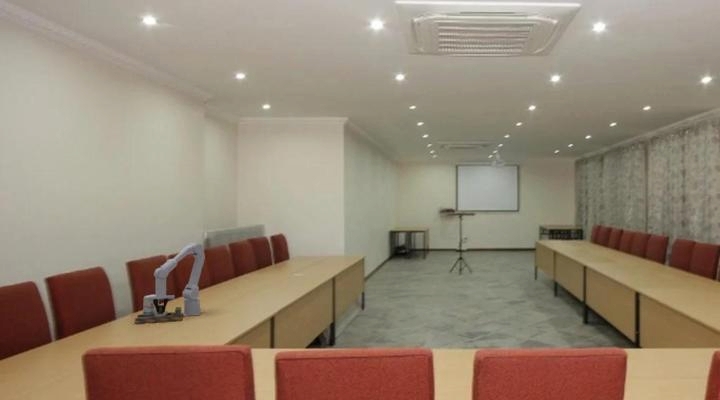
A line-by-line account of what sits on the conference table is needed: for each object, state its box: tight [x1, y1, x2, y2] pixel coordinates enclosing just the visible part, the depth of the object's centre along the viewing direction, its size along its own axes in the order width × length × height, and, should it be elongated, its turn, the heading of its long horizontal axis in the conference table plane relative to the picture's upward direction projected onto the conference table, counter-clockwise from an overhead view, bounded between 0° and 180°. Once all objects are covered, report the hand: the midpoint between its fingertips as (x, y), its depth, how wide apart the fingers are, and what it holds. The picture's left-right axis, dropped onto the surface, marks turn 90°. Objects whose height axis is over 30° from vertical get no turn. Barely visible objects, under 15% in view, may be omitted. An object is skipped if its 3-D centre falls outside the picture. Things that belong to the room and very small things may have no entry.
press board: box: [134, 306, 184, 325], centre depth 265 cm, size 25×13×6 cm, turn 108°
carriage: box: [155, 304, 169, 317], centre depth 266 cm, size 7×7×7 cm
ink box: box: [142, 294, 160, 314], centre depth 278 cm, size 9×5×12 cm, turn 168°
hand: (160, 311), depth 265 cm, fingers closed on carriage, 3 cm apart
